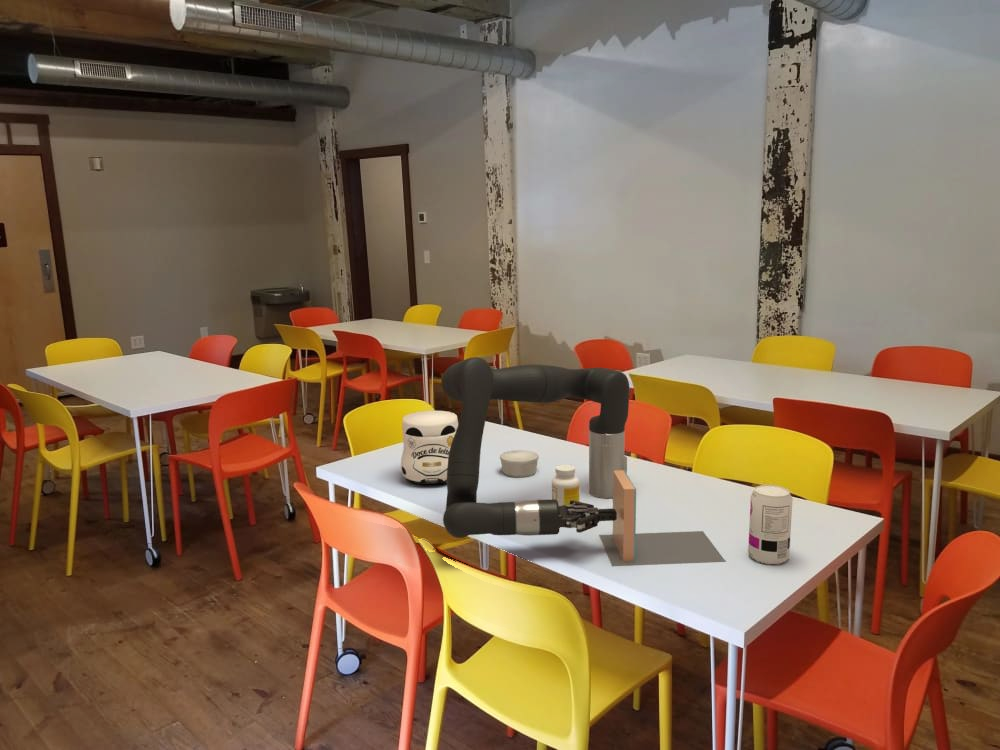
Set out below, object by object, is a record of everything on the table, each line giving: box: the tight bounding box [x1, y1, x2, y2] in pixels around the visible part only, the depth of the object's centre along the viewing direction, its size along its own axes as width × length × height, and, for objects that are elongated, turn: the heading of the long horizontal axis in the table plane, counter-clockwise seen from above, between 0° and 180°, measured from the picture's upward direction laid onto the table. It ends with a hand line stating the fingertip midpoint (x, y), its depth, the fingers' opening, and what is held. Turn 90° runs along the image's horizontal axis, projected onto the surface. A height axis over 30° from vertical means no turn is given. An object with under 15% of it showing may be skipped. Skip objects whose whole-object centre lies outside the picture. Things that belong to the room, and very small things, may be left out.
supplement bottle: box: [551, 464, 580, 506], centre depth 185 cm, size 7×7×13 cm
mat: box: [598, 530, 727, 567], centre depth 168 cm, size 24×16×1 cm, turn 92°
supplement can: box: [747, 484, 793, 565], centre depth 161 cm, size 8×8×15 cm
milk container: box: [400, 410, 459, 485], centre depth 215 cm, size 17×17×18 cm
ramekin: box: [499, 449, 540, 478], centre depth 220 cm, size 11×11×5 cm
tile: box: [612, 470, 637, 561], centre depth 166 cm, size 2×12×16 cm, turn 2°
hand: (615, 514), depth 166 cm, fingers closed
